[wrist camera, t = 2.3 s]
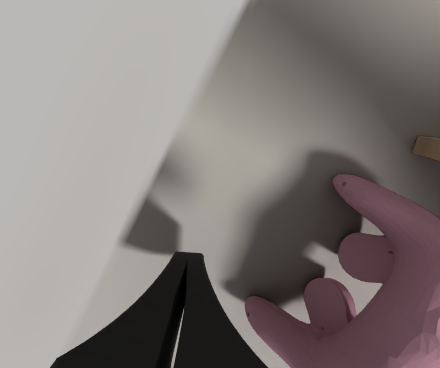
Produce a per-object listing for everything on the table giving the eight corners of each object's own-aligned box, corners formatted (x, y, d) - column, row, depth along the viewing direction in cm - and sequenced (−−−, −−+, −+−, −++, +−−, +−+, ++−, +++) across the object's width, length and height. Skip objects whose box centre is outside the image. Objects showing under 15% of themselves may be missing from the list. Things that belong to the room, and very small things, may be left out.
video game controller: (282, 303, 17) (372, 432, 12) (232, 306, 14) (319, 476, 9) (377, 182, 14) (555, 281, 9) (335, 158, 11) (554, 280, 6)
